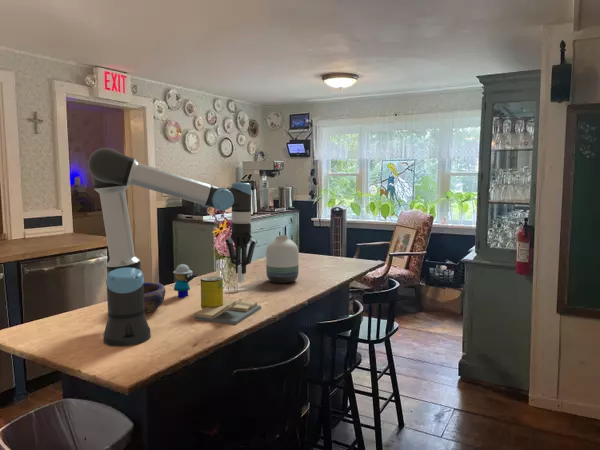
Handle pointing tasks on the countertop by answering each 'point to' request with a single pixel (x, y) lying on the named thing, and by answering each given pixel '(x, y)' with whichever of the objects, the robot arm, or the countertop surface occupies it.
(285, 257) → the vase
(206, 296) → the beverage can
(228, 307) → the tan flat block
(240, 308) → the plank far
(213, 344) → the countertop surface
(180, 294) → the toy
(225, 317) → the underlay
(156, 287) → the bowl
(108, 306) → the robot arm
